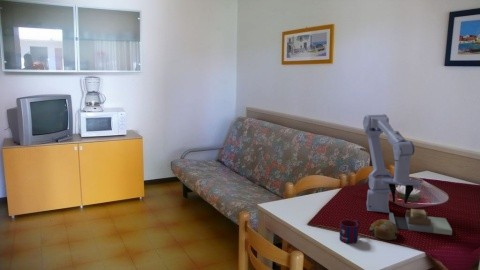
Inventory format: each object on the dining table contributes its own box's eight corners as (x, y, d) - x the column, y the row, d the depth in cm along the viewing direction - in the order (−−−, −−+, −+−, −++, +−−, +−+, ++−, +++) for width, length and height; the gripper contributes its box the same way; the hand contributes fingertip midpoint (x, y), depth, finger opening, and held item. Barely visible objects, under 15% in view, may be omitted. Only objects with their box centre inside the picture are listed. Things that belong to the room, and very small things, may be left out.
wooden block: (411, 222, 152) (412, 213, 151) (410, 217, 157) (411, 208, 156) (425, 223, 151) (426, 214, 150) (423, 219, 155) (424, 210, 155)
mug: (335, 238, 143) (336, 222, 142) (352, 232, 148) (353, 216, 147) (349, 245, 138) (350, 228, 136) (366, 238, 143) (367, 221, 142)
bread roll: (388, 250, 141) (399, 235, 138) (364, 234, 145) (374, 218, 142) (393, 240, 149) (404, 225, 146) (370, 224, 153) (380, 210, 150)
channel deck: (391, 228, 152) (392, 217, 151) (389, 216, 163) (389, 207, 162) (451, 235, 145) (452, 224, 144) (445, 222, 156) (446, 212, 156)
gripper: (383, 171, 150) (381, 203, 153) (423, 174, 146) (420, 207, 149) (382, 167, 157) (380, 197, 160) (420, 169, 153) (417, 201, 155)
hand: (399, 201), depth 155 cm, fingers open, 4 cm apart
